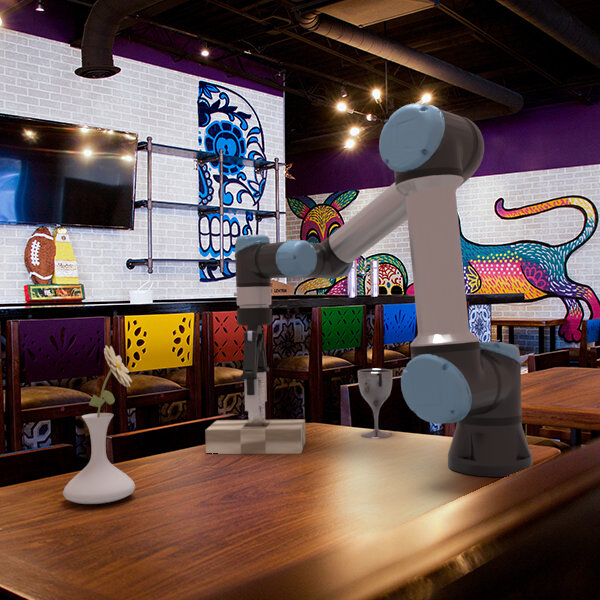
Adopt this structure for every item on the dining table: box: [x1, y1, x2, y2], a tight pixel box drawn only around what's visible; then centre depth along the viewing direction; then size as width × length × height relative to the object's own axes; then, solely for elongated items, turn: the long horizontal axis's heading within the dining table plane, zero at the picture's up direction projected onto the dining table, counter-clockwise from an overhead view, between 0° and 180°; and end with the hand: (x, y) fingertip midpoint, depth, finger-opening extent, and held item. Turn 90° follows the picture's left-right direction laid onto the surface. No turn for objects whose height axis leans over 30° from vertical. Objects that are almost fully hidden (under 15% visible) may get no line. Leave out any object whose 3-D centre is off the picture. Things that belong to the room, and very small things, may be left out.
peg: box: [247, 378, 266, 427], centre depth 154 cm, size 4×4×15 cm
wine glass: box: [357, 368, 393, 439], centre depth 165 cm, size 8×8×15 cm
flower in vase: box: [62, 345, 136, 505], centre depth 117 cm, size 13×11×25 cm
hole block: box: [204, 418, 306, 455], centre depth 154 cm, size 12×20×5 cm, turn 85°
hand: (256, 406), depth 154 cm, fingers open, 12 cm apart
